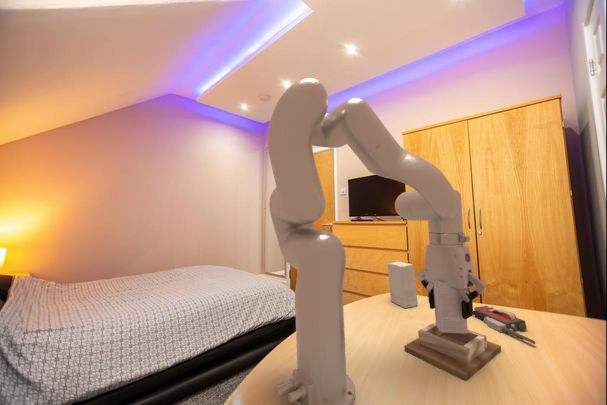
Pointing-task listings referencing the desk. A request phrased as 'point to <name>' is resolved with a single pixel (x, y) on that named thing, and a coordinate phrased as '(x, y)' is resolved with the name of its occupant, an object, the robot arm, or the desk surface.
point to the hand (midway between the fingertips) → (449, 311)
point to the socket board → (453, 350)
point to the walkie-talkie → (501, 321)
